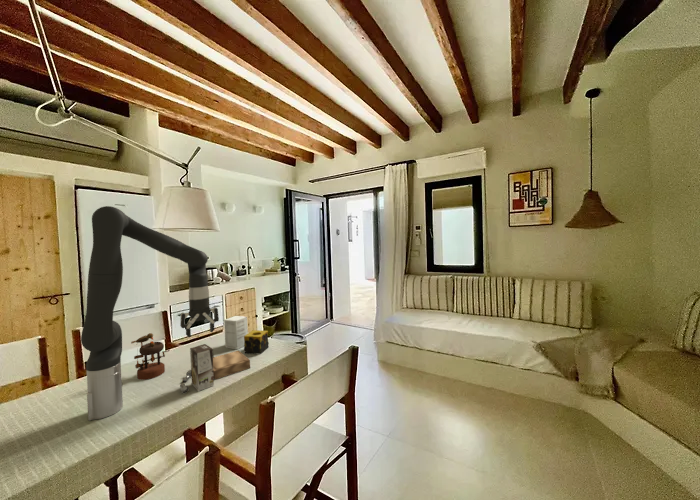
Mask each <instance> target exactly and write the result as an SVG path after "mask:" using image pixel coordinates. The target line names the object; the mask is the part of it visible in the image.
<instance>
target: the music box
mask: <svg viewBox="0 0 700 500" xmlns="http://www.w3.org/2000/svg"><path fill="white" fill-rule="evenodd" d="M153 336H154V334H153V333H152V332H151V333H148V334H146V335H143V336H141V337H139V338H138V339H136V340H132V341H131V342H130V344H134V343H136V344H139V343H140V348H139V350H138V352H139V355H138V354H136V355H134V356H133V359H134V360H136V364H135V369H136V375H137V377H136V378H137V380H140V381H147V380H151V379H155V378H158V377H159V376H161V375H163V374H164V373H165V372H166V368H165V366H166V365H165V363H164V362H161V359H162V358H165V357H166V354H165V353H167V352H170V349H168V350H165V351H164V347H165V346H164V343H163V342H162V341H154V337H153ZM150 339H151V341H149V340H150ZM148 341H149V342H148ZM146 342H147V343H146ZM143 343H144V344H143ZM161 353H162V355H160V354H161ZM155 355H156V356H157V357H155ZM148 356H151V357H150V359H148ZM140 358H141V359H142V358H144V359H142V360H141V361H142V363H139V360H138V359H140ZM156 360H157V362H154V361H156ZM149 361H150V362H149Z"/></svg>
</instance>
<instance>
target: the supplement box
mask: <svg viewBox="0 0 700 500" xmlns="http://www.w3.org/2000/svg"><path fill="white" fill-rule="evenodd" d="M223 322H224V323H223V325H224V345H225V347H224V348H225V349H233V350H239V349H241V348H244V336H245V335H247V334H248V333H249V329H248V327H249V326H248V316H243V315H234V316H230V317H228V318H226V319H224V320H223Z"/></svg>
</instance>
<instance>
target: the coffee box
mask: <svg viewBox="0 0 700 500" xmlns="http://www.w3.org/2000/svg"><path fill="white" fill-rule="evenodd" d="M213 350H214V349H213V348H212V347H211V346H210V345H208V344H207V343H206V344H205V343H204V344H200V345H196V346H194V347H190V348H189V354H190V370H191V377H190V378H191V385H192V386H193V387H194V388H195V389H196V390H197V391H198V392H201V391H203V390H205V389H208V388H211V387H214V386H215V382H214V381H215V379H214V375H213V357H214V352H213Z"/></svg>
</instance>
